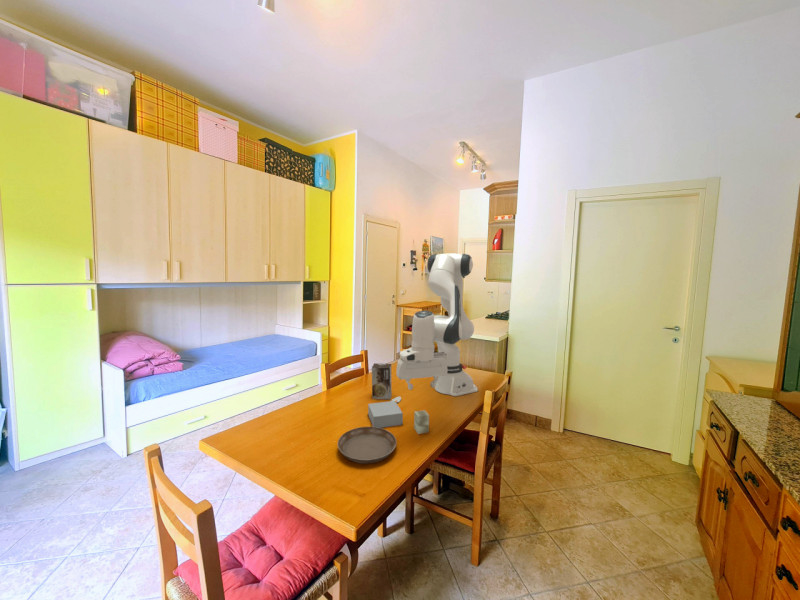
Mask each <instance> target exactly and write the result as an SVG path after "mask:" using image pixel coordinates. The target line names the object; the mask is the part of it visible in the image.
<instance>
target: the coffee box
mask: <svg viewBox="0 0 800 600" xmlns="http://www.w3.org/2000/svg"><path fill="white" fill-rule="evenodd" d="M371 393H372V395H371V397H372V399H373V400H391V398H392V395H393V394H392V363H373V365H372V366H371Z"/></svg>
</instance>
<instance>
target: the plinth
mask: <svg viewBox="0 0 800 600" xmlns="http://www.w3.org/2000/svg"><path fill="white" fill-rule="evenodd" d="M396 402H397V401H396V400H395V401H391V400H390V401H382V402H373V403H368V404H367V405H368V407H367V409H368V411H367V413H368V414H367V415H368V418H369V420H370V423H371V426H372V427H378V428H382V429H384V428H389V427H395V426H403V421H404V420H403V414H404V413H403V412H402V410H401V407H399V405H398V404H397V403H398V402H397V403H396Z"/></svg>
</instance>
